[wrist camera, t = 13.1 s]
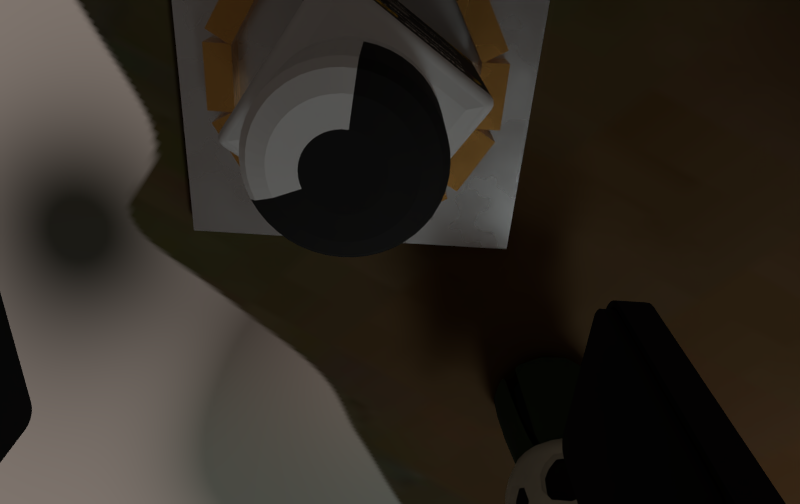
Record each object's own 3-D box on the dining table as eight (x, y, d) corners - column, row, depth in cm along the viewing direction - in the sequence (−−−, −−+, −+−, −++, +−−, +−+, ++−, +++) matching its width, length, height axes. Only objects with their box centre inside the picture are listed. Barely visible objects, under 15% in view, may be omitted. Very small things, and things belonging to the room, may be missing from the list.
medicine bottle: (475, 63, 27) (527, 150, 16) (380, 183, 30) (371, 324, 19) (344, -45, 25) (305, -27, 14) (253, 94, 27) (164, 196, 17)
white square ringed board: (563, -109, 25) (576, -112, 23) (504, 242, 32) (510, 260, 30) (164, -143, 24) (145, -148, 22) (198, 223, 31) (186, 240, 30)
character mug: (569, 302, 34) (658, 492, 22) (652, 365, 36) (772, 569, 24) (441, 416, 38) (461, 629, 26) (522, 467, 40) (574, 685, 28)
